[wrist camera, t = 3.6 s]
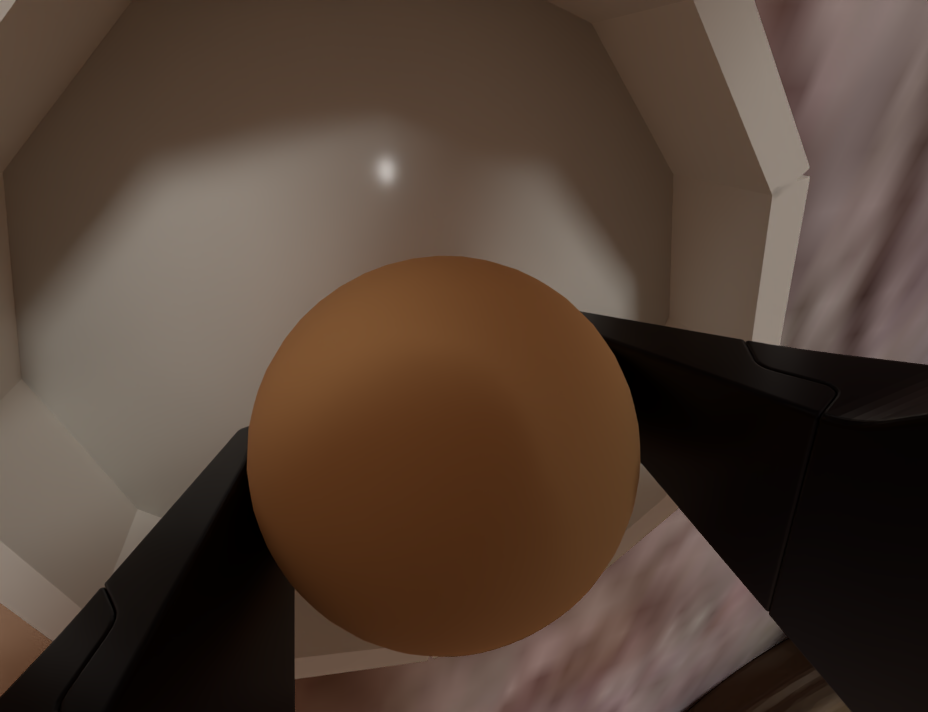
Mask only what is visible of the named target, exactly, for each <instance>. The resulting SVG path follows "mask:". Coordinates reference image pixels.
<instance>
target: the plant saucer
mask: <svg viewBox="0 0 928 712" xmlns="http://www.w3.org/2000/svg"><path fill="white" fill-rule="evenodd" d="M687 712H851V711H850V709H849V708H848V707H847V706H846V705H845V703H844V702H843V701H842V700H841V699H840V698H839V696H838V695H837V694H836V693H835V692H834V690H833V689H832V688H831V687H830V686H829V685H828V683H827V682H826V681H825V680H824V679H823V678H822V676H821V675H820V674H819V673H818V672H817V670H816V669H815V668H814V667H813V666H812V665H811V663H810V662H809V661H808V660H807V659H806V657H805V656H804V655H803V654H802V653H801V652H800V650H799V649H798V648H797V647H796V646H795V645H794V643H793V642H792V641H791V640H790V639H789V638H788V639H786V640H785V641H783V642H781V643H780V644H778V645H776V646H775V647H773V648H771V649H770V650H768V651H766V652H765V653H763V654H762V655H760V656H759V657H757V658H756V659H754V660H753V661H751V662H750V663H748V664H747V665H745V666H744V667H742V668H741V669H739V670H738V671H737V672H735V673H734V674H733V675H731V676H730V677H729V678H727V679H726V680H725V681H723V682H722V683H721V684H719V685H718V686H717V687H716V688H714V689H713V690H712V691H711V692H709V693H708V694H707V695H706V696H705V697H703V698H702V699H701V700H700V701H699V702H698V703H696V704H695V705H694V706H693V707H692V708H691V709H690V710H689V711H687Z"/></svg>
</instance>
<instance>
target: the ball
mask: <svg viewBox="0 0 928 712" xmlns="http://www.w3.org/2000/svg"><path fill="white" fill-rule="evenodd" d="M639 474H640V437H639V426H638V421H637V416H636V412H635V407H634V403H633V399H632V396H631V392H630V389H629V386H628V384H627V381H626V379H625V377H624V374H623V372H622V370H621V368H620V366H619V364H618V361H617V359H616V357H615V355H614V354H613V352H612V351H611V349H610V348H609V346H608V345H607V343H606V342H605V340H604V339H603V338H602V336H601V335H600V333H599V332H598V331H597V329H596V328H595V326H594V325H593V324H592V323H591V322H590V321H589V320H588V319H587V318H586V317H585V316H584V315H583V314H582V313H581V312H580V311H579V310H578V309H577V308H576V307H575V306H574V305H573V304H572V303H571V302H570V301H569V300H568V299H567V298H565V297H564V296H562V295H561V294H559V293H558V292H557V291H555V290H554V289H552V288H551V287H549V286H548V285H546V284H544V283H543V282H541V281H539V280H538V279H536V278H534V277H532V276H530V275H528V274H525V273H523V272H521V271H519V270H517V269H514V268H511V267H508V266H504V265H501V264H498V263H495V262H491V261H487V260H482V259H476V258H470V257H463V256H431V257H422V258H413V259H409V260H405V261H401V262H396V263H392V264H388V265H385V266H382V267H380V268H377V269H375V270H372V271H369V272H367V273H364V274H362V275H361V276H359V277H357V278H355V279H353V280H351V281H349V282H348V283H346V284H344V285H342V286H340V287H339V288H338V289H336V290H335V291H333V292H332V293H331V294H329V295H328V296H326V297H325V298H324V299H322V300H321V301H319V302H318V303H317V304H316V305H315V306H314V307H313V308H312V309H311V310H310V311H309V312H308V313H307V314H306V315H304V316H303V317H302V318H301V319H300V321H299V322H298V323H297V324H296V325H295V327H294V328H293V329H292V330H291V332H290V333H289V334H288V335H287V337H286V338H285V339H284V341H283V343H282V344H281V346H280V347H279V349H278V351H277V353H276V354H275V356H274V358H273V359H272V361H271V363H270V364H269V366H268V368H267V370H266V372H265V374H264V377H263V379H262V382H261V384H260V387H259V389H258V392H257V396H256V399H255V403H254V406H253V411H252V415H251V420H250V424H249V429H248V449H247V475H248V482H249V489H250V495H251V500H252V506H253V511H254V514H255V517H256V520H257V522H258V525H259V528H260V531H261V533H262V536H263V538H264V540H265V543H266V545H267V548H268V550H269V551H270V553H271V555H272V557H273V558H274V560H275V562H276V563H277V565H278V567H279V568H280V569H281V571H282V572H283V574H284V575H285V577H286V578H287V580H288V581H289V582H290V584H291V585H292V586H293V587H294V588H295V589H296V591H297V592H298V593H299V594H300V595H301V596H302V597H303V598H304V599H305V600H306V601H307V602H308V603H309V604H310V605H311V606H312V607H313V608H315V609H316V610H317V611H318V612H319V613H320V614H322V615H323V616H324V617H325V618H327V619H328V620H329V621H330V622H332V623H334V624H335V625H337V626H339V627H341V628H342V629H344V630H346V631H347V632H349V633H351V634H353V635H354V636H356V637H358V638H360V639H362V640H364V641H367V642H369V643H372V644H375V645H378V646H381V647H384V648H387V649H390V650H393V651H397V652H401V653H406V654H412V655H421V656H438V657H455V656H466V655H472V654H478V653H483V652H487V651H490V650H494V649H497V648H500V647H503V646H506V645H509V644H512V643H514V642H516V641H519V640H521V639H524V638H526V637H528V636H530V635H532V634H534V633H535V632H537V631H539V630H541V629H542V628H544V627H546V626H547V625H549V624H550V623H552V622H553V621H555V620H556V619H558V618H559V617H560V616H562V615H563V614H564V613H566V612H567V611H568V610H569V609H571V608H572V607H573V606H574V605H575V604H576V603H577V602H578V601H579V600H581V598H582V597H583V596H584V595H585V594H586V593H587V592H588V591H589V590H590V589H591V587H592V586H593V585H594V584H595V582H596V581H597V580H598V578H599V577H600V576H601V574H602V573H603V571H604V570H605V569H606V567H607V566H608V564H609V563H610V561H611V559H612V558H613V556H614V555H615V553H616V551H617V549H618V547H619V545H620V543H621V540H622V538H623V535H624V533H625V530H626V528H627V525H628V523H629V520H630V517H631V515H632V512H633V507H634V503H635V498H636V493H637V487H638V482H639Z"/></svg>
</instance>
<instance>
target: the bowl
mask: <svg viewBox="0 0 928 712" xmlns="http://www.w3.org/2000/svg"><path fill="white" fill-rule="evenodd" d="M809 168H810V167H809V164H808V161H807V158H806V155H805V152H804V149H803V146H802V143H801V140H800V137H799V134H798V131H797V128H796V125H795V122H794V119H793V116H792V112H791V109H790V106H789V103H788V100H787V97H786V94H785V91H784V88H783V85H782V82H781V79H780V76H779V73H778V70H777V67H776V64H775V61H774V58H773V55H772V52H771V49H770V46H769V43H768V40H767V37H766V34H765V31H764V28H763V25H762V22H761V19H760V16H759V13H758V10H757V7H756V4H755V1H754V0H0V603H1V604H3V605H4V606H5V607H7V608H8V609H9V610H11V611H12V612H13V613H15V614H16V615H18V616H19V617H20V618H22V619H23V620H24V621H26V622H27V623H28V624H30V625H31V626H32V627H34V628H35V629H36V630H38V631H39V632H41V633H42V634H43V635H45V636H46V637H47V638H49V639H50V640H51V641H54V640H55V639H56V638H57V636H58V635H59V634H60V633H61V632H62V631H63V630H64V629H65V628H66V626H67V625H68V624H69V623H70V622H71V621H72V620H73V619H74V618H75V616H76V615H77V614H78V613H79V612H80V611H81V610H82V609H83V607H84V606H85V605H86V604H87V603H88V602H89V600H90V599H91V598H92V597H93V596H94V595H95V594H96V592H97V591H98V590H99V589H100V588H102V587H104V588H105V585H104V584H105V582H106V581H107V580H108V579H109V578H110V577H111V575H112V574H113V573H114V572H115V571H116V570H117V568H118V567H119V566H120V565H121V564H122V563H123V562H124V560H125V559H126V558H127V557H128V556H129V555H130V554H131V552H132V551H133V550H134V549H135V548H136V547H137V546H138V544H139V543H140V542H141V541H142V540H143V539H144V538H145V536H146V535H147V534H148V533H149V532H150V531H151V530H152V528H153V527H154V526H155V525H156V524H157V523H158V522H159V520H160V519H161V518H162V517H163V516H164V515H165V514H166V512H167V511H168V510H169V509H170V508H171V507H172V506H173V504H174V503H175V502H176V501H177V500H178V499H179V498H180V496H181V495H182V494H183V493H184V492H185V491H186V489H187V488H188V487H189V486H190V485H191V484H192V483H193V481H194V480H195V479H196V478H197V477H198V476H199V475H200V473H201V472H202V471H203V470H204V469H205V468H206V467H207V465H208V464H209V463H210V462H211V461H212V460H213V459H214V457H215V456H216V455H217V454H218V453H219V452H220V451H221V449H222V448H223V447H224V446H225V445H226V444H227V443H228V441H229V440H230V439H231V438H232V437H233V436H234V435H235V433H236V432H237V431H238V430H240V429H241V428H244V427H247V426H249V424H250V420H251V415H252V411H253V406H254V403H255V399H256V396H257V392H258V389H259V387H260V384H261V382H262V379H263V377H264V374H265V372H266V370H267V368H268V366H269V364H270V363H271V361H272V359H273V358H274V356H275V354H276V353H277V351H278V349H279V347H280V346H281V344H282V343H283V341H284V339H285V338H286V337H287V335H288V334H289V333H290V332H291V330H292V329H293V328H294V327H295V325H296V324H297V323H298V322H299V321H300V319H301V318H302V317H303V316H304V315H306V314H307V313H308V312H309V311H310V310H311V309H312V308H313V307H314V306H315V305H316V304H317V303H318V302H319V301H321V300H322V299H324V298H325V297H326V296H328V295H329V294H331V293H332V292H333V291H335V290H336V289H338V288H339V287H340V286H342V285H344V284H346V283H348V282H349V281H351V280H353V279H355V278H357V277H359V276H361V275H362V274H364V273H367V272H369V271H372V270H375V269H377V268H380V267H382V266H385V265H388V264H392V263H396V262H401V261H405V260H409V259H413V258H422V257H431V256H463V257H470V258H476V259H482V260H487V261H491V262H495V263H498V264H501V265H504V266H508V267H511V268H514V269H517V270H519V271H521V272H523V273H525V274H528V275H530V276H532V277H534V278H536V279H538V280H539V281H541V282H543V283H544V284H546V285H548V286H549V287H551V288H552V289H554V290H555V291H557V292H558V293H559V294H561V295H562V296H564V297H565V298H567V299H568V300H569V301H570V302H571V303H572V304H573V305H574V306H575V307H576V308H577V309H578V310H579V311H582V312H588V313H593V314H599V315H605V316H611V317H616V318H622V319H628V320H634V321H639V322H645V323H651V324H657V325H662V326H668V327H674V328H679V329H685V330H691V331H697V332H702V333H708V334H714V335H720V336H726V337H731V338H737V339H742V340H744V341H745V342H746V341H748V340H749V341H755V342H760V343H766V344H772V345H778V346H780V341H781V335H782V330H783V324H784V319H785V313H786V308H787V302H788V296H789V291H790V285H791V280H792V274H793V269H794V263H795V258H796V252H797V247H798V241H799V236H800V230H801V225H802V219H803V214H804V208H805V202H806V197H807V191H808V186H809V180H810V177H809V176H803V174H804V173H805V172H806V171H807V170H808V169H809ZM678 508H679V507H678V506H677V505H676V504H675V503H674V501H673V500H672V499H671V498H670V497H669V496H668V494H667V493H666V492H665V491H664V490H663V488H662V487H661V486H660V485H659V484H658V483H657V481H656V480H655V479H654V478H653V477H652V475H651V474H650V473H649V472H648V471H647V470H646V468H645V467H644V466H643V465H642V464H641V463H640V474H639V482H638V487H637V493H636V498H635V503H634V507H633V512H632V515H631V517H630V520H629V523H628V525H627V528H626V530H625V533H624V535H623V538H622V540H621V543H620V545H619V547H618V549H617V551H616V553H615V555H614V556H613V558H612V559H611V561H610V563H609V564H608V566H607V567H606V569H607V568H608V567H609V566H611V565H612V564H613V563H614V562H615V561H617V560H618V559H619V558H620V557H621V556H622V555H624V554H625V553H626V552H627V551H628V550H630V549H631V548H632V547H633V546H634V545H636V544H637V543H638V542H639V541H640V540H641V539H643V538H644V537H645V536H646V535H647V534H649V533H650V532H651V531H652V530H653V529H654V528H656V527H657V526H658V525H659V524H660V523H662V522H663V521H664V520H665V519H666V518H668V517H669V516H670V515H671V514H672V513H673V512H675V511H676V510H677V509H678ZM606 569H605V570H606ZM605 570H604V571H605ZM604 571H603V572H604ZM432 657H433V659H436V658H438V656H432ZM428 659H429V656H421V655H412V654H406V653H401V652H397V651H393V650H390V649H387V648H384V647H381V646H378V645H375V644H372V643H369V642H367V641H364V640H362V639H360V638H358V637H356V636H354V635H353V634H351V633H349V632H347V631H346V630H344V629H342V628H341V627H339V626H337V625H335V624H334V623H332V622H330V621H329V620H328V619H327V618H325V617H324V616H323V615H322V614H320V613H319V612H318V611H317V610H316V609H315V608H313V607H312V606H311V605H310V604H309V603H308V602H307V601H306V600H305V599H304V598H303V597H302V596H301V595H300V594H299V593H298V592H297V591H296V589H295V679H300V678H307V677H315V676H322V675H329V674H337V673H344V672H352V671H359V670H366V669H374V668H381V667H388V666H396V665H403V664H411V663H418V662H425V661H428Z"/></svg>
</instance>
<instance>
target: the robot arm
mask: <svg viewBox="0 0 928 712" xmlns="http://www.w3.org/2000/svg"><path fill="white" fill-rule="evenodd" d="M580 312H581V313H582V314H583V315H584V316H585V317H586V318H587V319H588V320H589V321H590V322H591V323H592V324H593V325H594V326H595V328H596V329H597V331H598V332H599V333H600V335H601V336H602V338H603V339H604V340H605V342H606V343H607V345H608V346H609V348H610V349H611V351H612V352H613V354H614V355H615V357H616V359H617V361H618V364H619V366H620V368H621V370H622V372H623V374H624V377H625V379H626V381H627V384H628V386H629V389H630V392H631V396H632V399H633V403H634V407H635V412H636V416H637V421H638V426H639V437H640V463H641V464H642V465H643V466H644V467H645V468H646V470H647V471H648V472H649V473H650V474H651V475H652V477H653V478H654V479H655V480H656V481H657V483H658V484H659V485H660V486H661V487H662V488H663V490H664V491H665V492H666V493H667V494H668V496H669V497H670V498H671V499H672V500H673V501H674V503H675V504H676V505H677V506H678V507H679V508H680V510H681V511H682V512H683V513H684V514H685V516H686V517H687V518H688V519H689V520H690V521H691V523H692V524H693V525H694V526H695V527H696V529H697V530H698V531H699V532H700V533H701V534H702V536H703V537H704V538H705V539H706V540H707V541H708V543H709V544H710V545H711V546H712V547H713V549H714V550H715V551H716V552H717V553H718V554H719V556H720V557H721V558H722V559H723V560H724V562H725V563H726V564H727V565H728V566H729V567H730V569H731V570H732V571H733V572H734V573H735V574H736V576H737V577H738V578H739V579H740V580H741V582H742V583H743V584H744V585H745V586H746V587H747V589H748V590H749V591H750V592H751V593H752V595H753V596H754V597H755V598H756V599H757V600H758V602H759V603H760V604H761V605H762V606H763V607H764V609H765V610H766V611H769V615H770V616H771V617H772V619H773V620H774V621H775V622H776V623H777V624H778V626H779V627H780V628H781V629H782V630H783V632H784V633H785V634H786V635H787V636H788V637H789V639H790V640H791V641H792V642H793V643H794V645H795V646H796V647H797V648H798V649H799V650H800V652H801V653H802V654H803V655H804V656H805V657H806V659H807V660H808V661H809V662H810V663H811V665H812V666H813V667H814V668H815V669H816V670H817V672H818V673H819V674H820V675H821V676H822V678H823V679H824V680H825V681H826V682H827V683H828V685H829V686H830V687H831V688H832V689H833V690H834V692H835V693H836V694H837V695H838V696H839V698H840V699H841V700H842V701H843V702H844V703H845V705H846V706H847V707H848V708H849V709H850V711H851V712H928V365H925V364H917V363H908V362H900V361H892V360H883V359H875V358H867V357H858V356H850V355H842V354H834V353H827V352H819V351H811V350H804V349H797V348H791V347H785V346H778V345H772V344H766V343H760V342H755V341H749V340H748V341H746V342H745V341H744V340H742V339H737V338H731V337H726V336H720V335H714V334H708V333H702V332H697V331H691V330H685V329H679V328H674V327H668V326H662V325H657V324H651V323H645V322H639V321H634V320H628V319H622V318H616V317H611V316H605V315H599V314H593V313H588V312H582V311H580ZM248 429H249V426H247V427H244V428H241V429H240V430H238V431H237V432H236V433H235V435H234V436H233V437H232V438H231V439H230V440H229V441H228V443H227V444H226V445H225V446H224V447H223V448H222V449H221V451H220V452H219V453H218V454H217V455H216V456H215V457H214V459H213V460H212V461H211V462H210V463H209V464H208V465H207V467H206V468H205V469H204V470H203V471H202V472H201V473H200V475H199V476H198V477H197V478H196V479H195V480H194V481H193V483H192V484H191V485H190V486H189V487H188V488H187V489H186V491H185V492H184V493H183V494H182V495H181V496H180V498H179V499H178V500H177V501H176V502H175V503H174V504H173V506H172V507H171V508H170V509H169V510H168V511H167V512H166V514H165V515H164V516H163V517H162V518H161V519H160V520H159V522H158V523H157V524H156V525H155V526H154V527H153V528H152V530H151V531H150V532H149V533H148V534H147V535H146V536H145V538H144V539H143V540H142V541H141V542H140V543H139V544H138V546H137V547H136V548H135V549H134V550H133V551H132V552H131V554H130V555H129V556H128V557H127V558H126V559H125V560H124V562H123V563H122V564H121V565H120V566H119V567H118V568H117V570H116V571H115V572H114V573H113V574H112V575H111V577H110V578H109V579H108V580H107V581H106V582H105V584H104V585H105V588H104V587H102V588H100V589H99V590H98V591H97V592H96V594H95V595H94V596H93V597H92V598H91V599H90V600H89V602H88V603H87V604H86V605H85V606H84V607H83V609H82V610H81V611H80V612H79V613H78V614H77V615H76V616H75V618H74V619H73V620H72V621H71V622H70V623H69V624H68V625H67V626H66V628H65V629H64V630H63V631H62V632H61V633H60V634H59V635H58V636H57V638H56V639H55V640H54V641H53V642H52V643H51V644H50V645H49V646H48V647H47V649H46V650H45V651H44V652H43V653H42V654H41V655H40V656H39V657H38V658H37V659H36V660H35V661H34V662H33V663H32V664H31V665H30V666H29V667H28V668H27V670H26V671H25V672H24V673H23V674H22V675H21V676H20V677H19V678H18V679H17V680H16V681H15V682H14V683H13V684H12V685H11V686H10V687H9V688H8V690H7V691H6V692H5V693H4V694H3V695H2V696H1V697H0V712H295V588H294V587H293V586H292V585H291V584H290V582H289V581H288V580H287V578H286V577H285V575H284V574H283V572H282V571H281V569H280V568H279V567H278V565H277V563H276V562H275V560H274V558H273V557H272V555H271V553H270V551H269V550H268V548H267V545H266V543H265V540H264V538H263V536H262V533H261V531H260V528H259V525H258V522H257V520H256V517H255V514H254V511H253V506H252V500H251V495H250V489H249V482H248V475H247V449H248Z"/></svg>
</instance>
